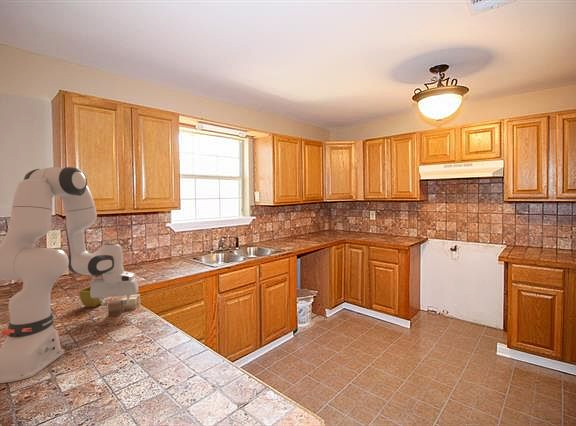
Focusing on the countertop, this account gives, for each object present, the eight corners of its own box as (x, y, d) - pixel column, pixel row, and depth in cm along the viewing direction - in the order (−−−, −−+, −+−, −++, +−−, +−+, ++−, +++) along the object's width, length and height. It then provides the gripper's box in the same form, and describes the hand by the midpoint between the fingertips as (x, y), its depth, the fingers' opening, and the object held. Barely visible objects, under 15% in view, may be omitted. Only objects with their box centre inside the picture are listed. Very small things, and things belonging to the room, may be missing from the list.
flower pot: (93, 309, 152) (92, 291, 151) (79, 308, 154) (77, 290, 153) (107, 302, 161) (106, 286, 160) (93, 301, 162) (92, 285, 162)
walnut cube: (120, 315, 144) (119, 303, 143) (108, 316, 143) (107, 304, 142) (123, 311, 149) (122, 299, 148) (112, 312, 148) (111, 300, 147)
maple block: (135, 308, 152) (135, 298, 152) (120, 309, 151) (120, 299, 151) (140, 303, 159) (140, 294, 159) (126, 304, 158) (125, 295, 158)
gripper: (86, 280, 140) (88, 309, 141) (134, 276, 144) (136, 305, 145) (92, 276, 146) (94, 304, 147) (138, 273, 150) (140, 300, 151)
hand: (115, 304), depth 146 cm, fingers open, 8 cm apart
